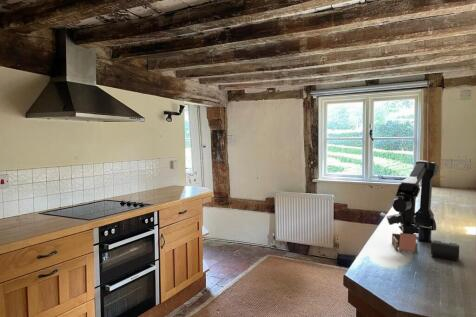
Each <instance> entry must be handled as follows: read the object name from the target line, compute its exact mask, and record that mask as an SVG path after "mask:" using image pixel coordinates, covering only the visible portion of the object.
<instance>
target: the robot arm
mask: <svg viewBox="0 0 476 317" xmlns="http://www.w3.org/2000/svg"><path fill="white" fill-rule="evenodd" d="M438 172H439V164H437V162H434V161H433V162H432V161H428V160H421V159H420V160H416V161H415V166H414V168H413V169H412V171H411V172H410V174H409V176H408V177H407V178H404V179H403V180H402V181H401V183H399V185H398V188H397V190H396V194H395V197H397V199H395V200H394V201H393V202H392V208H393V210H394V211H395V212H397V213H395V214H390V215H386V220H387V223H388V225H389V226H392V225H395V224H397V225H398V228H399V229H400V231H401V233H409V234H416V235H417V236H416V240H418V242H424V243H425V242H426V243H432V241H433V239H432V231H433V232H434V231H437V222H436V220H435V218H434V217H435V216H434V214H435V213H434V212H433V210H432V209H431V207H432V206H431V205H432V193H433V181H434V179H435V178H436V176H437V175H438ZM420 183H421V187H420ZM419 193H420V201H419V208H418V209H417V211H416V201H417V197H418V196H419Z"/></svg>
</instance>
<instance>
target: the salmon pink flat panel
mask: <svg viewBox="0 0 476 317" xmlns="http://www.w3.org/2000/svg"><path fill="white" fill-rule="evenodd" d="M399 234H400V243H399V245H398V252H405V253H412V254H413V253H414V254H415V253H416V251H415V246H416V242H417V238H416V237H418V234H417V233H414V234H409V233H402V232H400V233H399Z"/></svg>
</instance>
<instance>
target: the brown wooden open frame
mask: <svg viewBox="0 0 476 317" xmlns="http://www.w3.org/2000/svg"><path fill="white" fill-rule="evenodd" d="M391 235H392V236H391V245H392V247H393V248H394V249H395V251H398V249H399V243H400V233H393V232H392V234H391ZM418 246H419V244H418V242H417V241H416V246H415V251H416V252H415V253H416V254H417V253H418V248H419V247H418ZM398 252H399V251H398Z"/></svg>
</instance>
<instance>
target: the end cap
mask: <svg viewBox="0 0 476 317" xmlns="http://www.w3.org/2000/svg"><path fill="white" fill-rule="evenodd" d="M430 243H431V245H430V255H431V257H435V258H440V259H446V260H452V261H458V260H460V244H457V243H455V242H454V243H453V242H443V241H441V240H432V242H430Z"/></svg>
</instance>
